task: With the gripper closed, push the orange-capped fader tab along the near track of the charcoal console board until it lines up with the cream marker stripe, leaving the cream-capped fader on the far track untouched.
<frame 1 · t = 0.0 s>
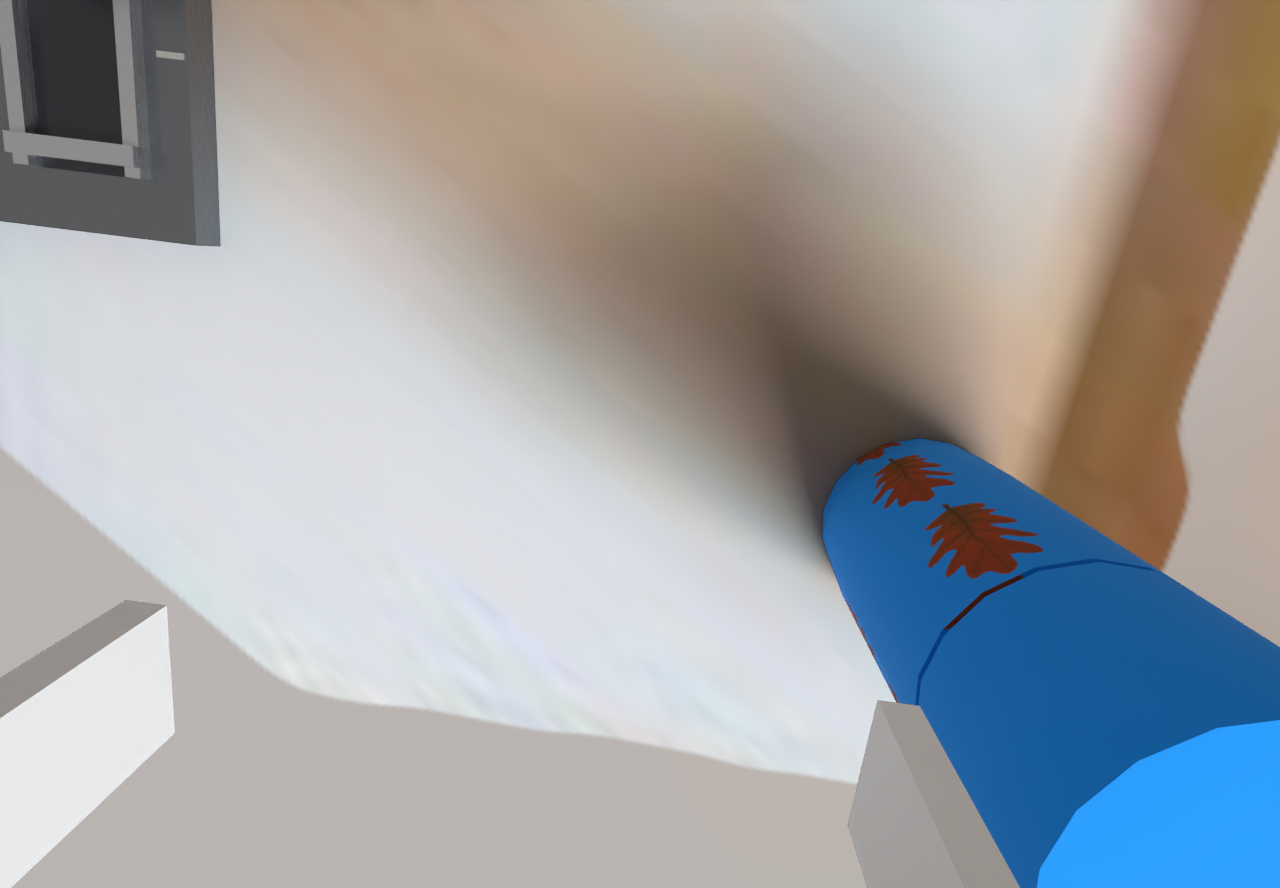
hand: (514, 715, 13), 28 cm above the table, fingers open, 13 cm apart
thermos: (910, 522, 41), on the table
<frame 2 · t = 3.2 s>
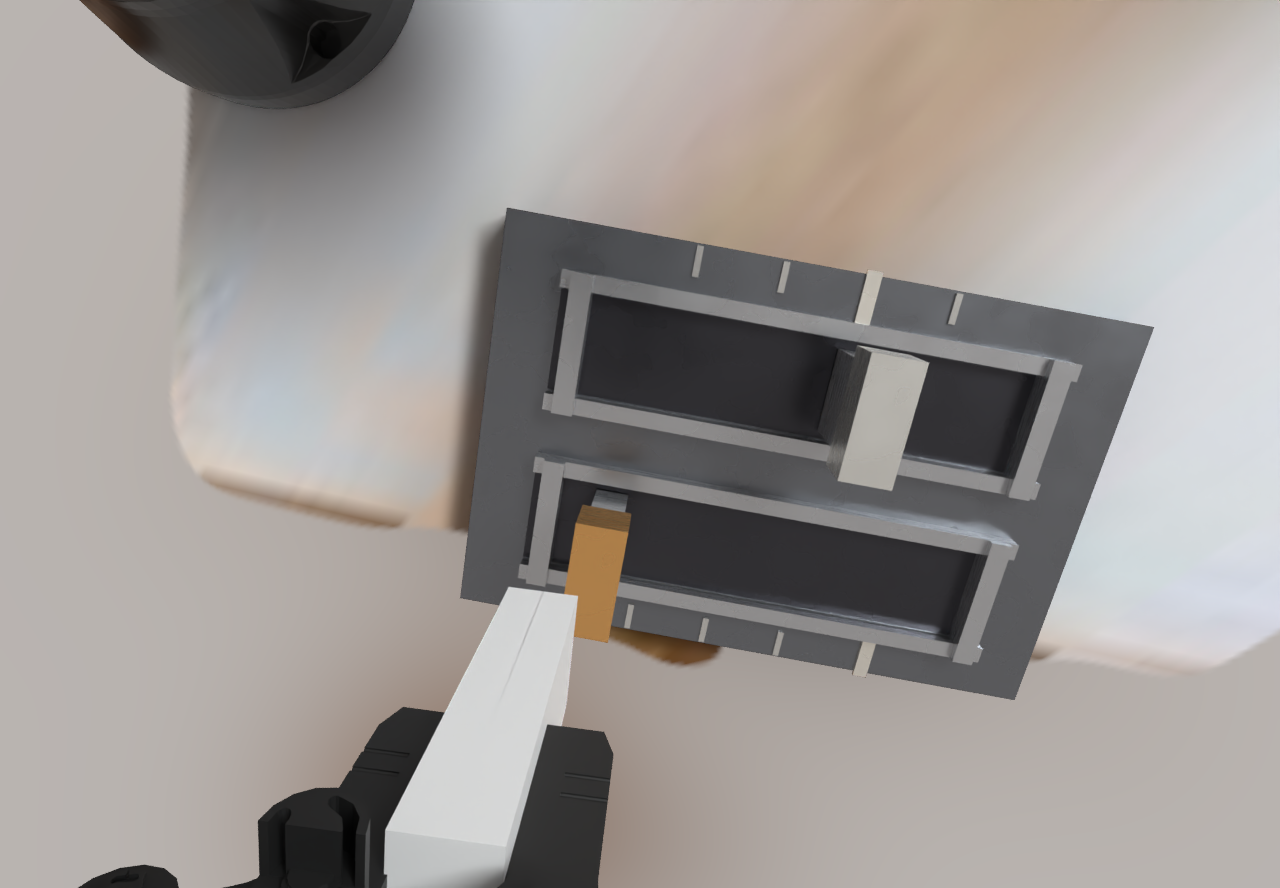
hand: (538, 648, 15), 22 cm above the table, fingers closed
fader B: (861, 406, 30), point 5 cm above the table, slide at 2.0 cm
fader A: (599, 553, 32), point 5 cm above the table, slide at -8.0 cm
console: (774, 461, 36), on the table
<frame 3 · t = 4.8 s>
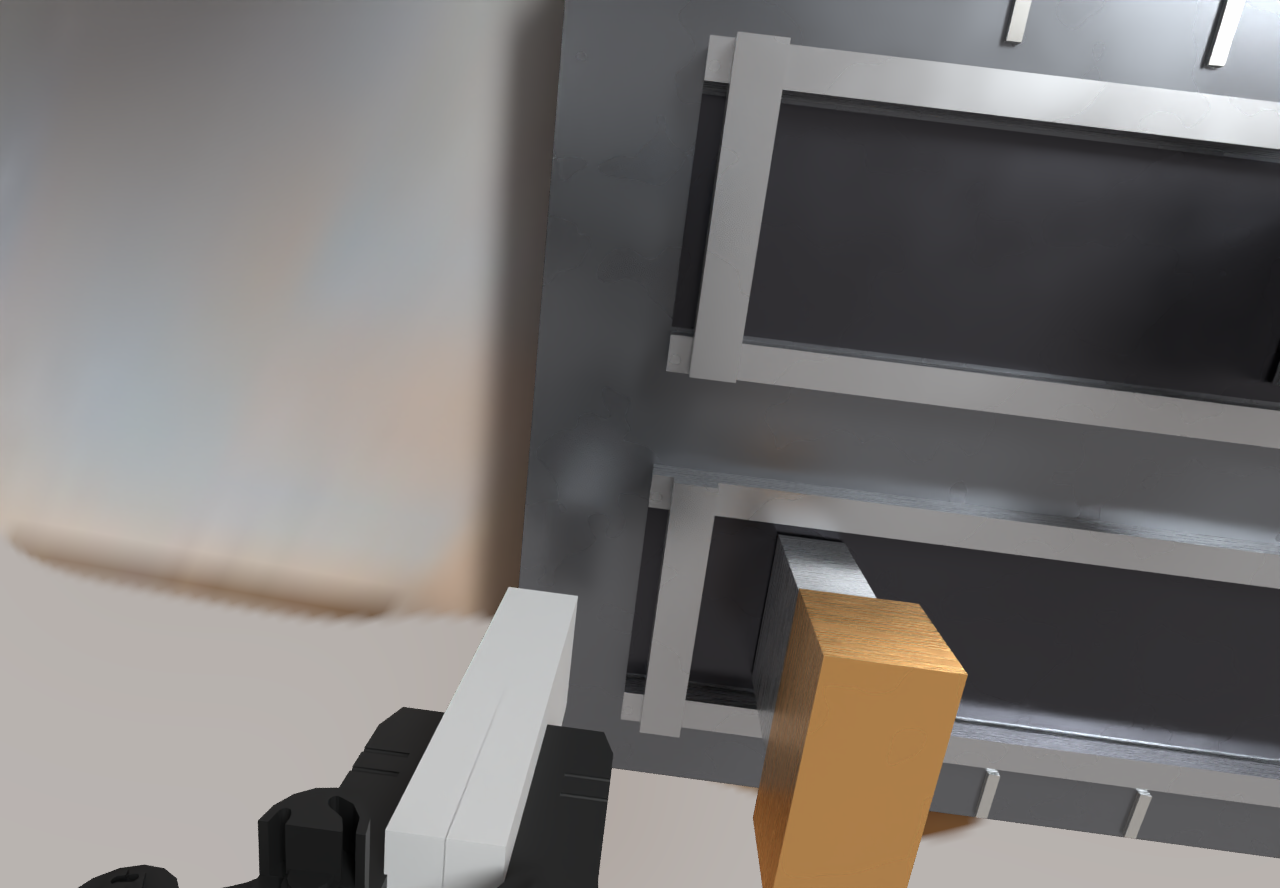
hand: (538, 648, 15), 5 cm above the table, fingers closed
fader A: (821, 688, 14), point 5 cm above the table, slide at -8.0 cm
console: (1119, 456, 18), on the table
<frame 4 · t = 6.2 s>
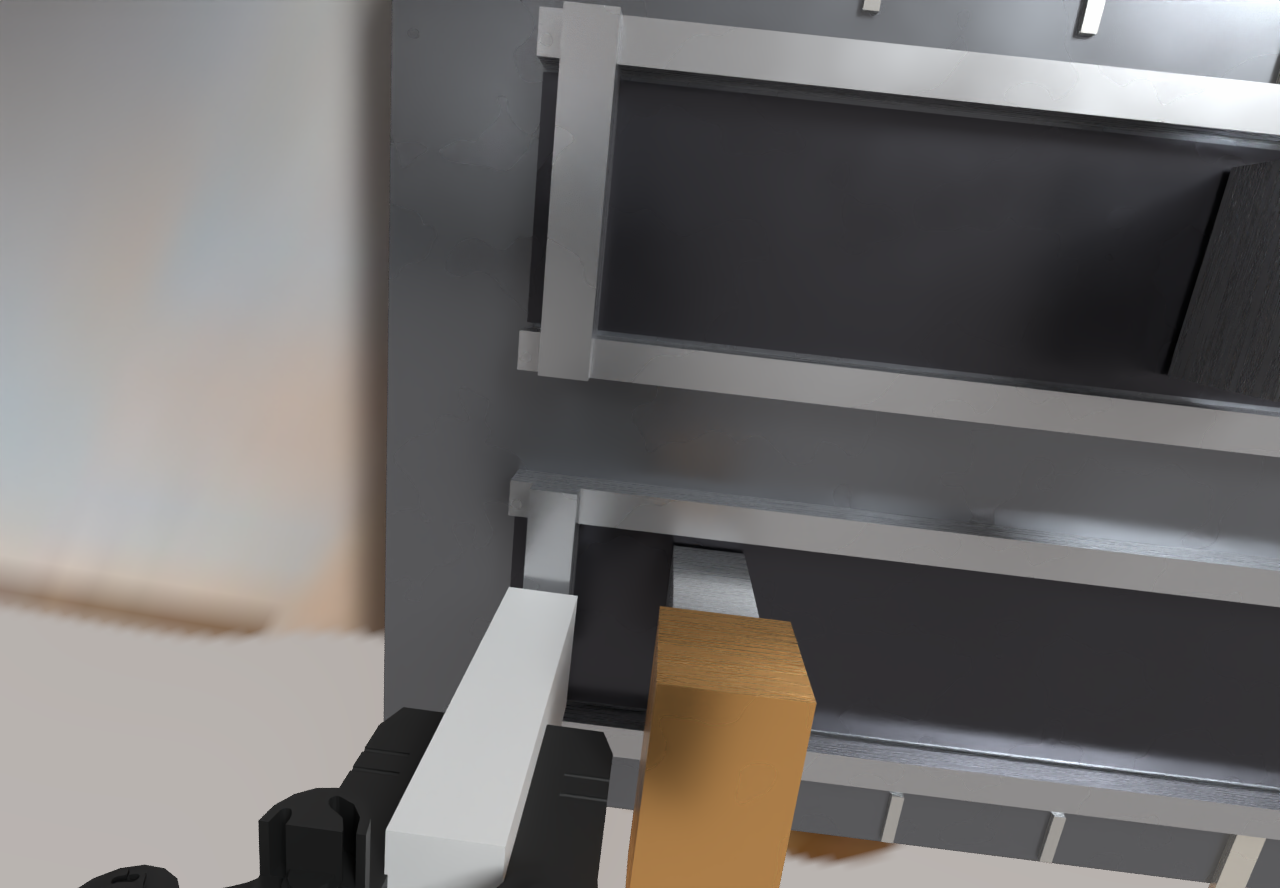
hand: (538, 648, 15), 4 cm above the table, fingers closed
fader A: (702, 712, 13), point 5 cm above the table, slide at -7.5 cm, touching gripper
console: (1024, 455, 17), on the table
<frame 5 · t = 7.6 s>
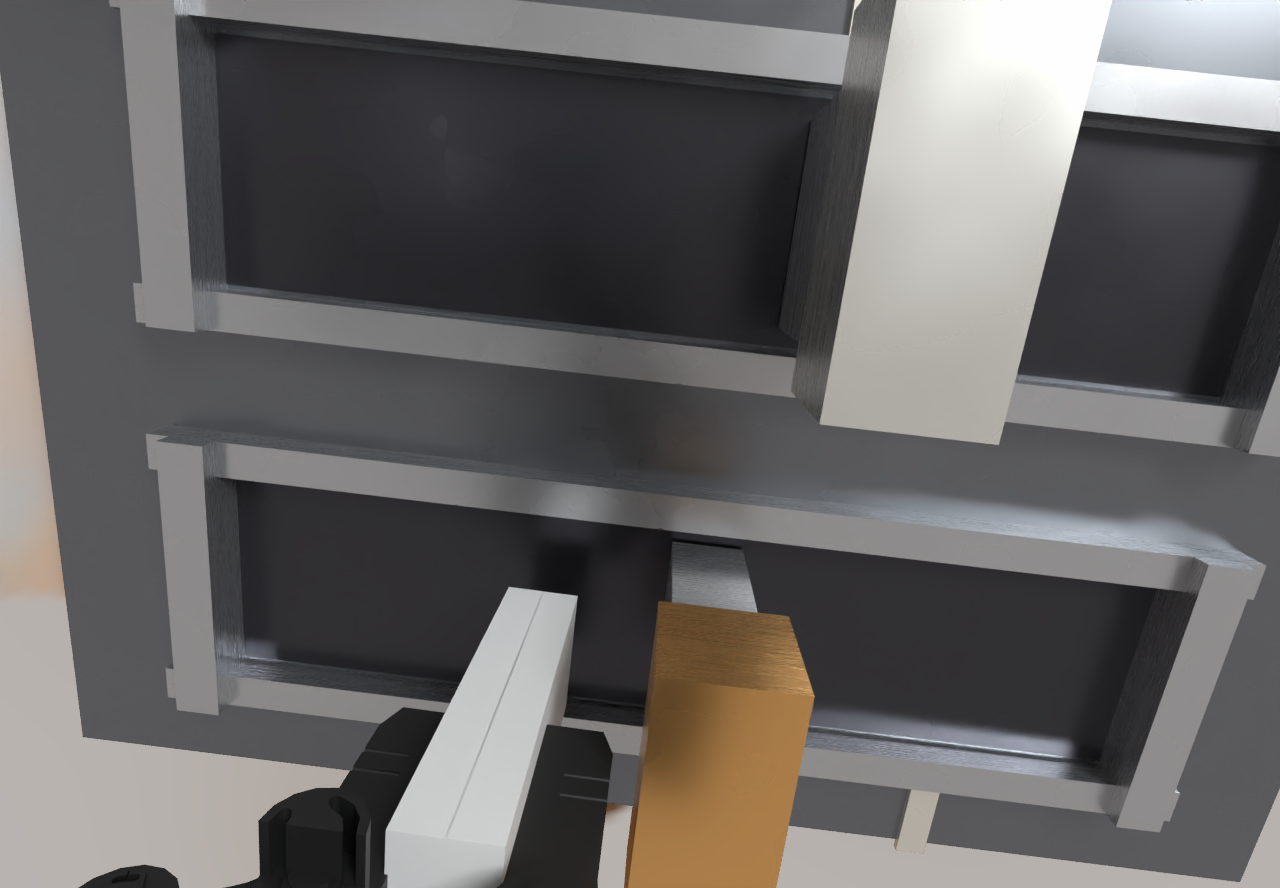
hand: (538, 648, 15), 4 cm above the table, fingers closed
fader B: (878, 225, 11), point 5 cm above the table, slide at 2.0 cm
fader A: (701, 707, 13), point 5 cm above the table, slide at 0.4 cm, touching gripper
console: (700, 415, 17), on the table
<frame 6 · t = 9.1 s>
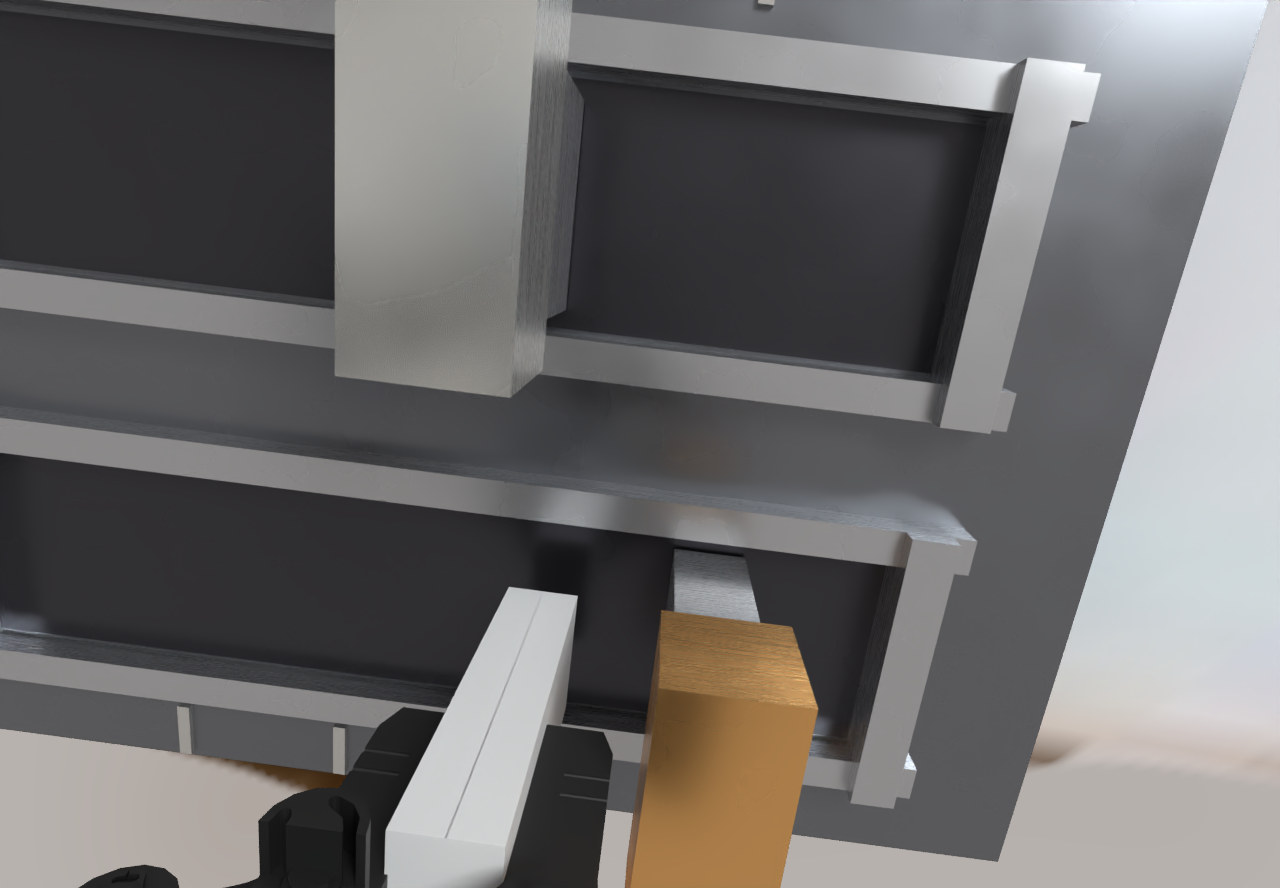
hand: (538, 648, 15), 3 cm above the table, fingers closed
fader B: (497, 189, 11), point 5 cm above the table, slide at 2.0 cm
fader A: (702, 716, 13), point 5 cm above the table, slide at 6.5 cm, touching gripper
console: (458, 391, 17), on the table
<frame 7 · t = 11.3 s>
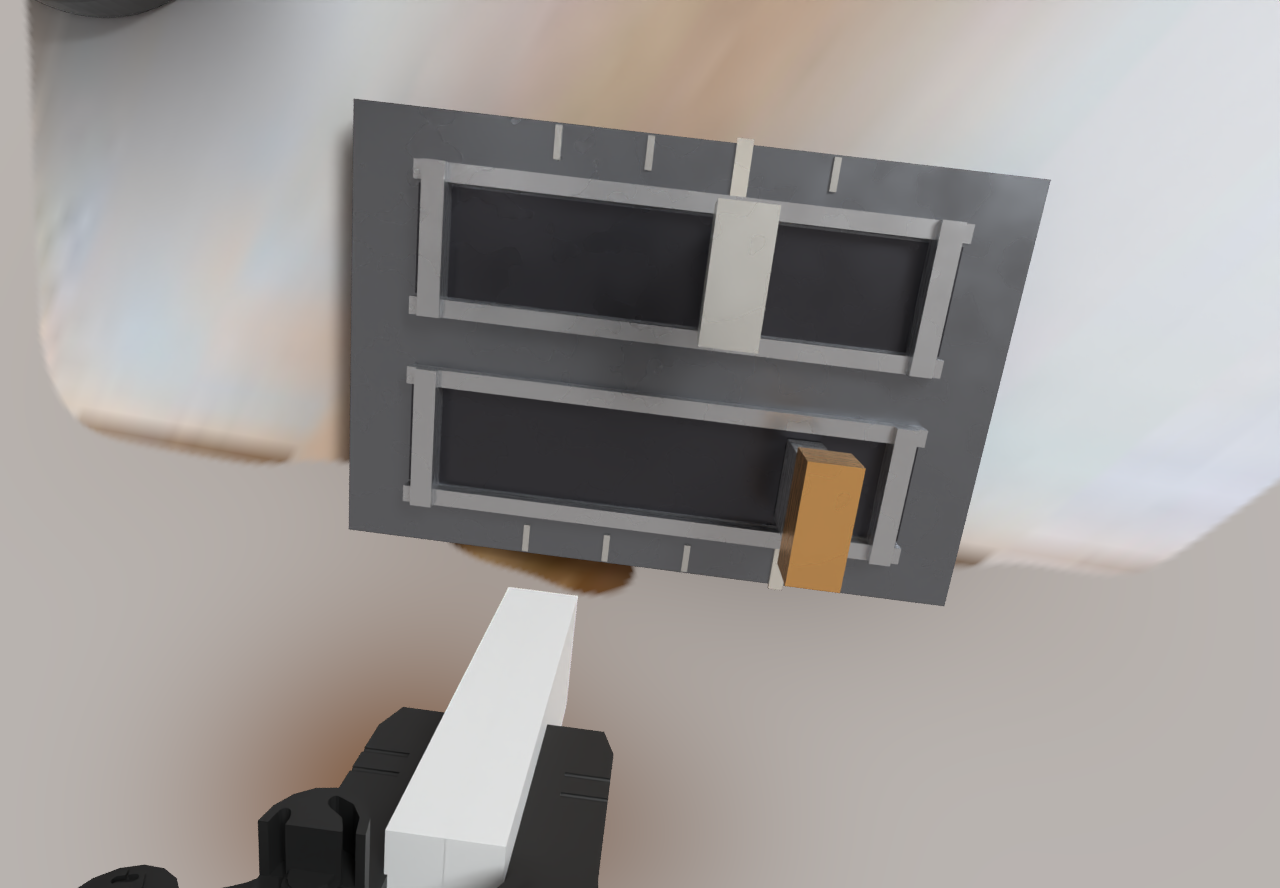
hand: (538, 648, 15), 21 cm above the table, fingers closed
fader B: (731, 276, 28), point 5 cm above the table, slide at 2.0 cm
fader A: (809, 502, 30), point 5 cm above the table, slide at 6.7 cm
console: (669, 364, 34), on the table
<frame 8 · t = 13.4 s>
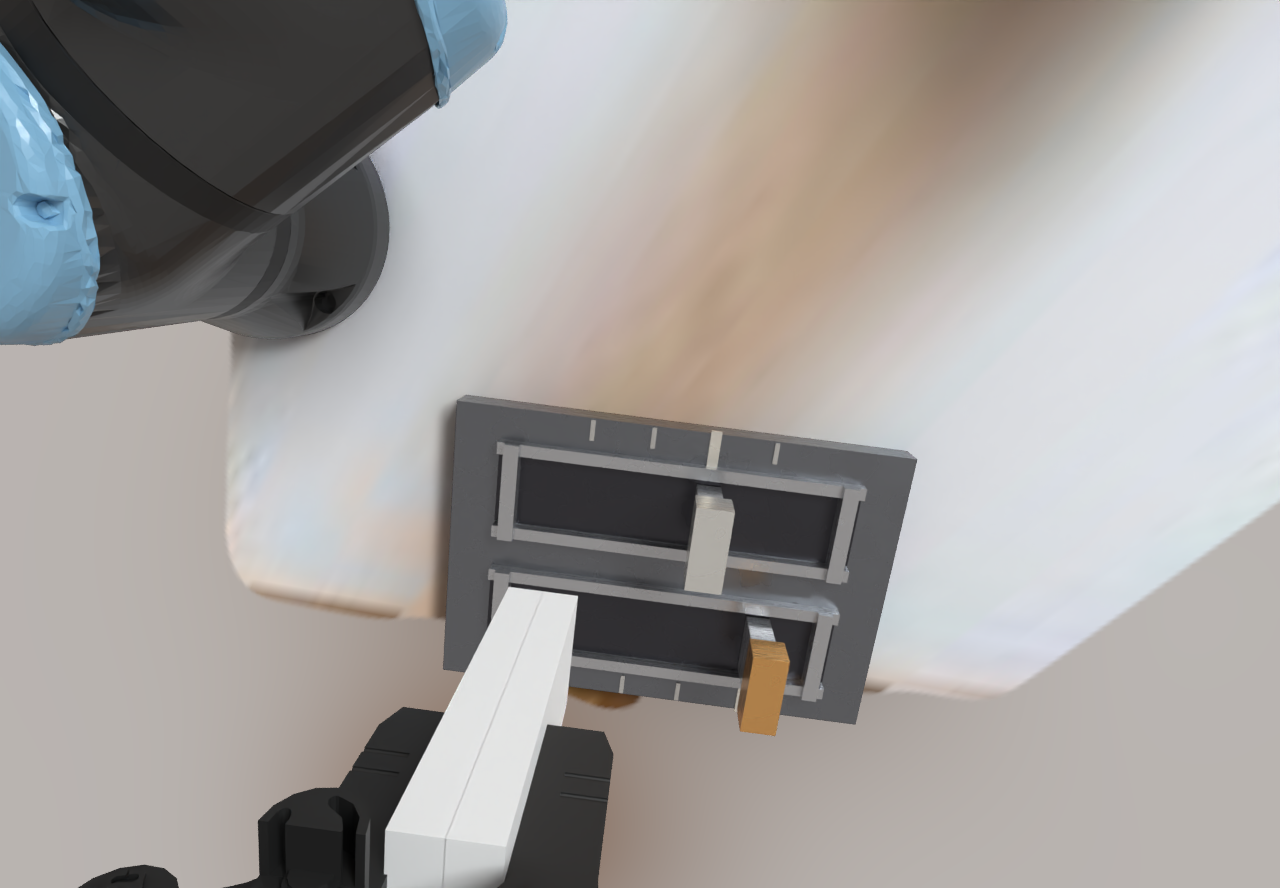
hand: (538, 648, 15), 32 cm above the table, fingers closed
fader B: (706, 531, 43), point 5 cm above the table, slide at 2.0 cm
fader A: (758, 668, 45), point 5 cm above the table, slide at 6.7 cm
console: (666, 558, 49), on the table
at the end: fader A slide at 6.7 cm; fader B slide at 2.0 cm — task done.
